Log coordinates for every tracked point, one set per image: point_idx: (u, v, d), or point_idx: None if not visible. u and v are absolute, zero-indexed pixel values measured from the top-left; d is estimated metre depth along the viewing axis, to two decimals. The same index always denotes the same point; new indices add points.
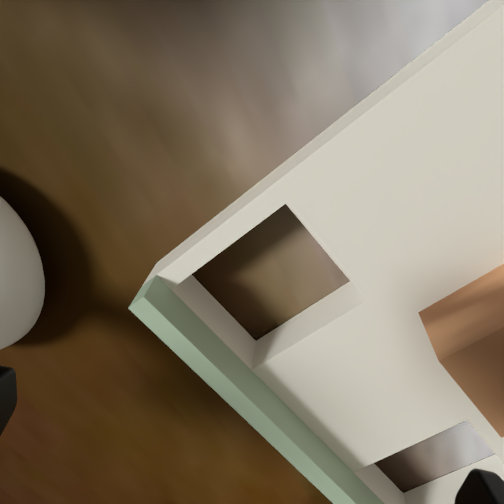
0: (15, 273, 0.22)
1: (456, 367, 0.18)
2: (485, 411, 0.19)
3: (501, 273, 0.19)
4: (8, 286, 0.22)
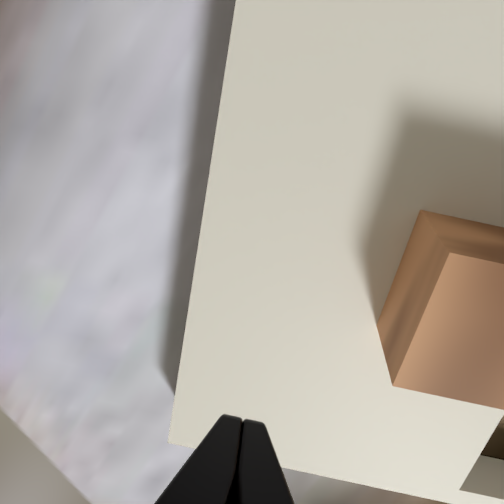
0: None
1: None
2: None
3: None
4: None
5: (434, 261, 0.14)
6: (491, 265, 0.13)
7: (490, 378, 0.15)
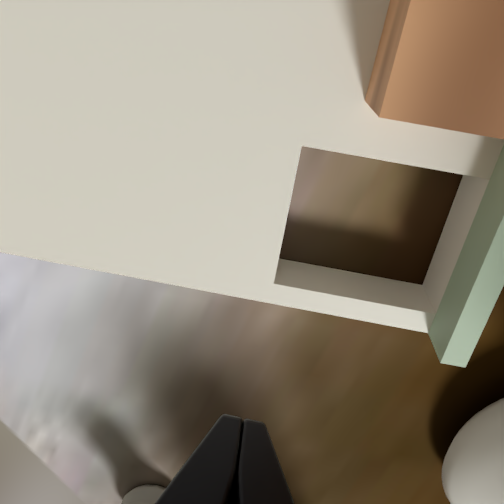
0: None
1: None
2: None
3: None
4: None
5: None
6: None
7: (493, 94, 0.12)
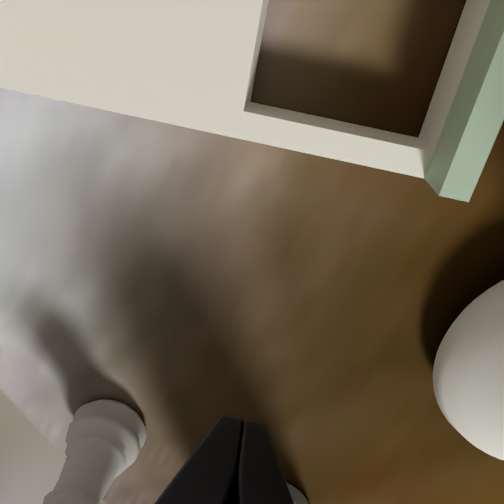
0: None
1: None
2: None
3: None
4: None
5: None
6: None
7: None
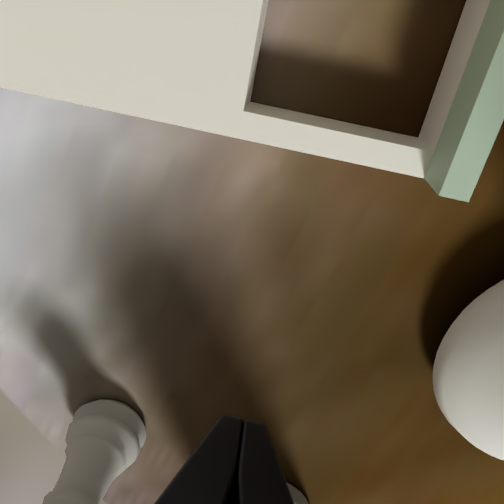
0: None
1: None
2: None
3: None
4: None
5: None
6: None
7: None
